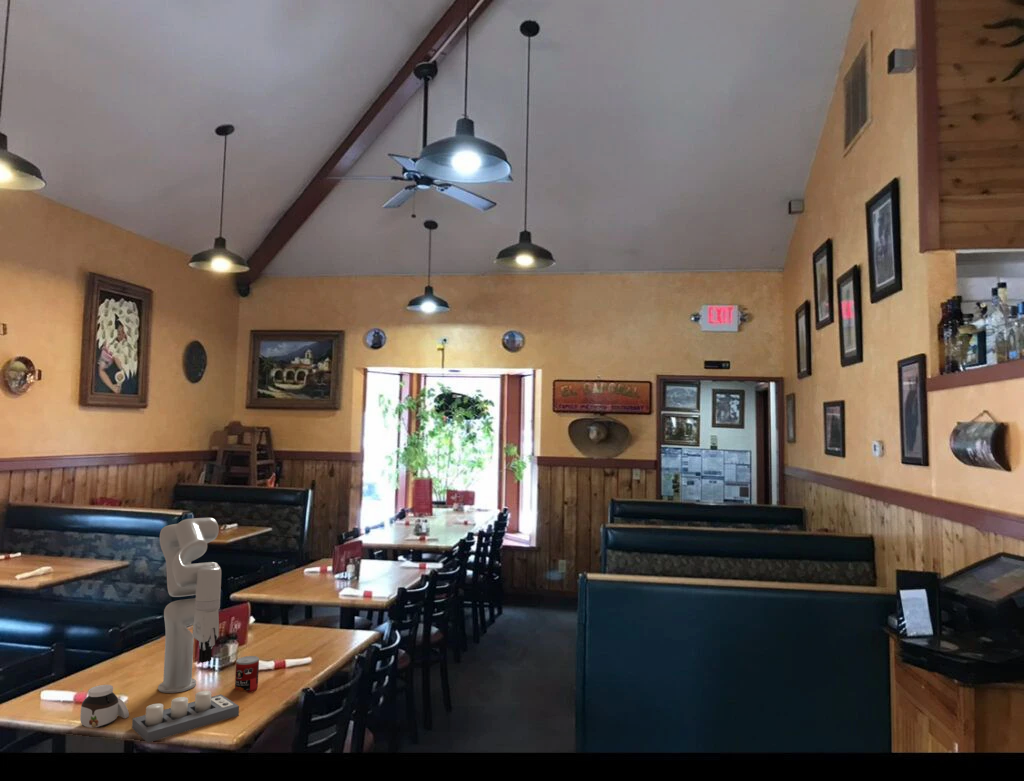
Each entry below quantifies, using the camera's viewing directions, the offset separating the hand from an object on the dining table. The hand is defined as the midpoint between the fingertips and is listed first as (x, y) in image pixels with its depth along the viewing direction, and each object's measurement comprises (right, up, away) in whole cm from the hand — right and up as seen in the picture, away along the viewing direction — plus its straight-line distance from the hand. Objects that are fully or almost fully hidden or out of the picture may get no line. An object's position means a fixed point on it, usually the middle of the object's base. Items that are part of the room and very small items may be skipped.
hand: (205, 660), depth 220 cm
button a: (0, -16, -1) cm, 16 cm away
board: (-4, -19, -5) cm, 20 cm away
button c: (-10, -15, -12) cm, 22 cm away
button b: (-5, -15, -6) cm, 17 cm away
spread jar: (-30, -19, -5) cm, 36 cm away
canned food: (+4, -21, +25) cm, 33 cm away
